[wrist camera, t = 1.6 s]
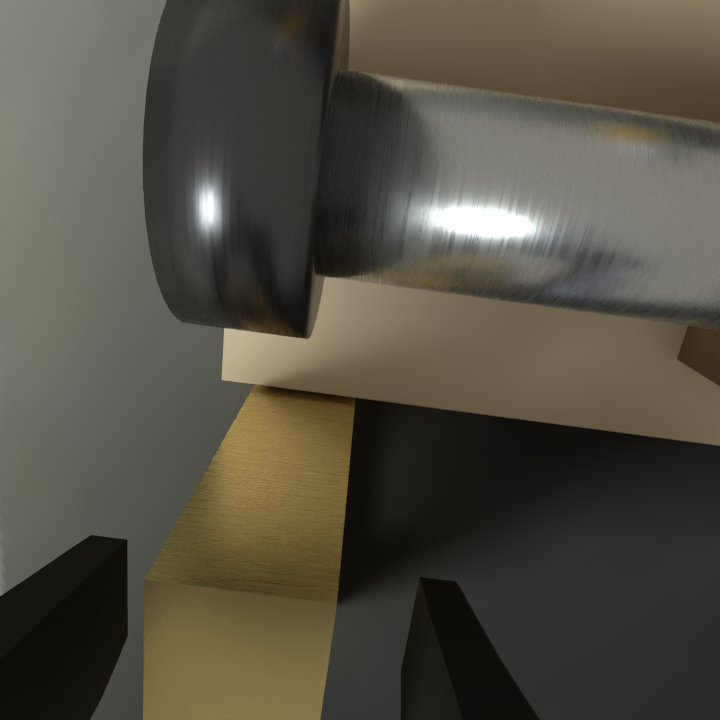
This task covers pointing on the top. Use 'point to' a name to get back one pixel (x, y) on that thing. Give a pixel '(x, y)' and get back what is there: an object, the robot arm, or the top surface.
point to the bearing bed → (502, 318)
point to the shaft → (405, 182)
